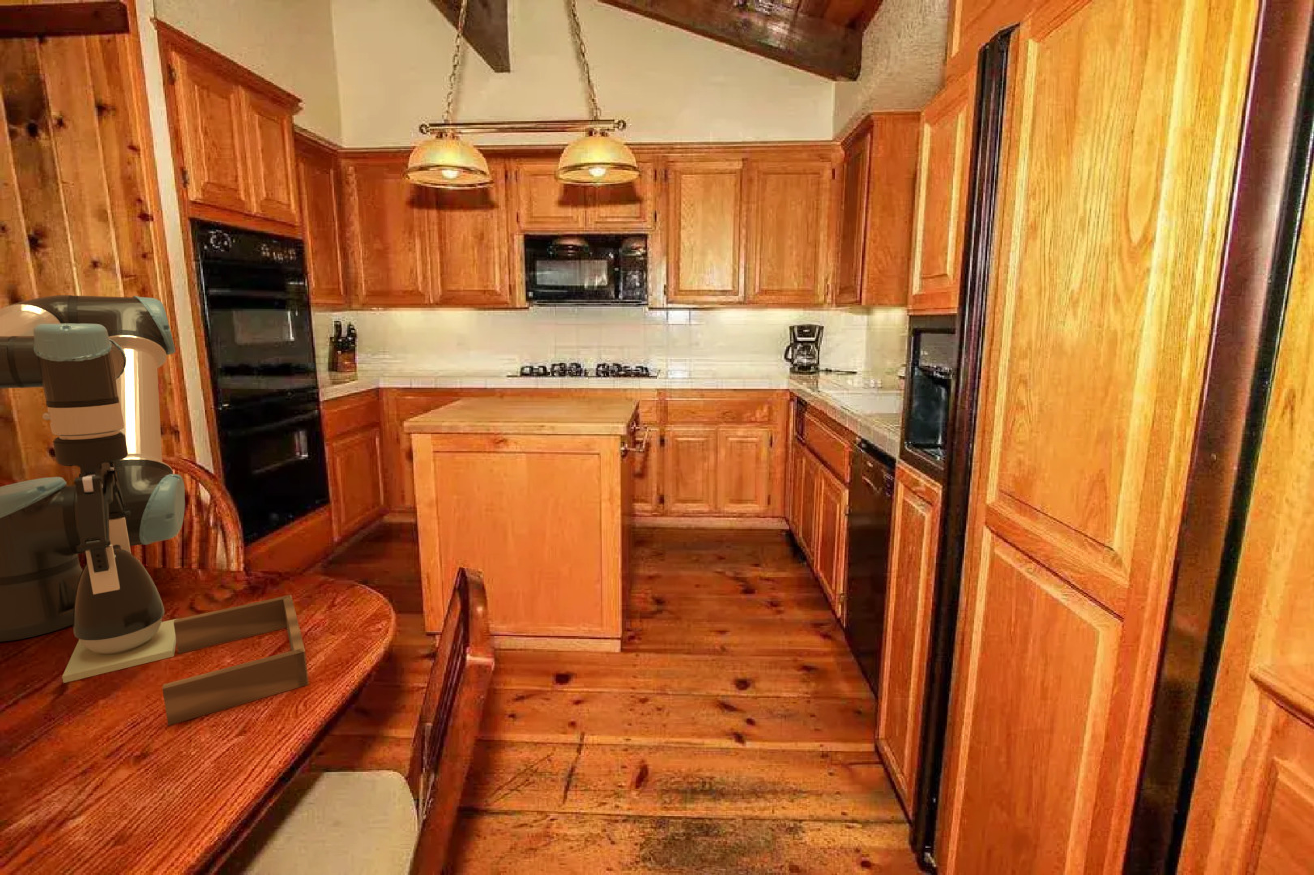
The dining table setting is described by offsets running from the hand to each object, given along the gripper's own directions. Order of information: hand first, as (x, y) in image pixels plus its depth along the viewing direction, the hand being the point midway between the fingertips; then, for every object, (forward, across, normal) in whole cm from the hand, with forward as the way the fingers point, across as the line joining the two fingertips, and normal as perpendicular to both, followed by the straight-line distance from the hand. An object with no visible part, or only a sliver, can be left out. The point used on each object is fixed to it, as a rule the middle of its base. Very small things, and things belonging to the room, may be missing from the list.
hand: (113, 574), depth 89 cm
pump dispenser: (+11, 0, 0) cm, 11 cm away
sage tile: (+12, +1, 0) cm, 12 cm away
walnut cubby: (+12, +16, +14) cm, 24 cm away
